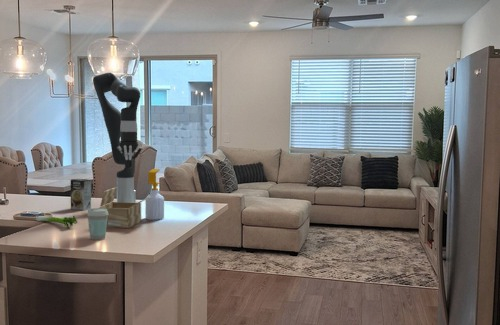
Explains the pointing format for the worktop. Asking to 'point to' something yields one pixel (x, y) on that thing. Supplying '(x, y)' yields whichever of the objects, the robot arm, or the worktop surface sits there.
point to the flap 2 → (140, 201)
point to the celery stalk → (58, 220)
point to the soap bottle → (154, 199)
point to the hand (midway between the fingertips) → (129, 167)
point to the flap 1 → (108, 196)
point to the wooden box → (122, 214)
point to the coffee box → (80, 194)
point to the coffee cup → (97, 223)
